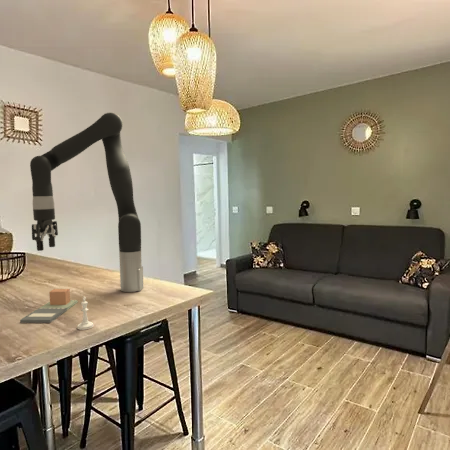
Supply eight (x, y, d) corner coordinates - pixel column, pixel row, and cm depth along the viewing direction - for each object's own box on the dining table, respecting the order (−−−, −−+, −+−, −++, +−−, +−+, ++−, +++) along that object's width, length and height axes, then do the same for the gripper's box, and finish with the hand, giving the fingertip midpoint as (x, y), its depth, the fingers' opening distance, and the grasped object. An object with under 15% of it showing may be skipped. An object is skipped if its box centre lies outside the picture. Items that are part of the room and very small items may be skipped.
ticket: (66, 310, 127) (66, 307, 127) (50, 322, 116) (50, 319, 115) (39, 310, 127) (39, 307, 127) (20, 322, 116) (20, 319, 116)
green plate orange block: (77, 302, 136) (76, 287, 136) (67, 310, 127) (66, 294, 127) (52, 302, 136) (51, 287, 136) (39, 309, 128) (39, 294, 127)
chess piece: (95, 323, 115) (94, 294, 114) (90, 329, 110) (89, 298, 109) (80, 324, 115) (79, 294, 113) (74, 330, 110) (73, 298, 109)
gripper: (42, 208, 130) (45, 252, 132) (62, 206, 144) (64, 245, 146) (23, 209, 130) (26, 252, 132) (44, 207, 144) (47, 245, 146)
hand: (46, 248), depth 139 cm, fingers open, 8 cm apart
